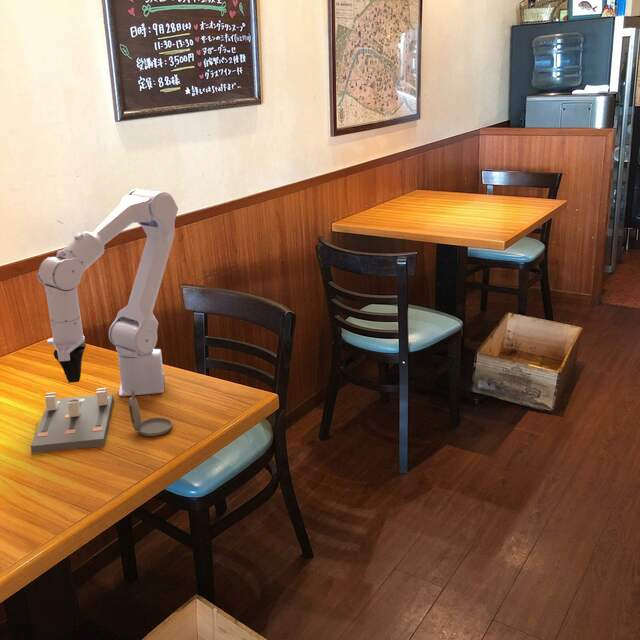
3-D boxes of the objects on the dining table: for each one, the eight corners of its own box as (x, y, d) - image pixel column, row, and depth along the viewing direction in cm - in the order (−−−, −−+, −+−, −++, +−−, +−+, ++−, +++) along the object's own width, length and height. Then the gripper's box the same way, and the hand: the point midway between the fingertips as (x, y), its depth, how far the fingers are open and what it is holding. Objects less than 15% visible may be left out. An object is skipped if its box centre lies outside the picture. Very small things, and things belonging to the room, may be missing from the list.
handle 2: (108, 400, 144) (106, 386, 143) (107, 404, 142) (105, 390, 141) (99, 401, 143) (97, 387, 142) (98, 405, 142) (96, 391, 141)
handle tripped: (80, 411, 139) (78, 397, 138) (79, 416, 137) (77, 401, 136) (71, 412, 139) (69, 398, 138) (69, 417, 137) (67, 402, 136)
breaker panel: (113, 400, 148) (112, 393, 148) (104, 445, 130) (103, 438, 129) (50, 405, 146) (49, 399, 145) (31, 453, 127) (30, 445, 127)
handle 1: (57, 405, 142) (55, 391, 141) (56, 409, 140) (54, 395, 139) (48, 406, 142) (46, 392, 141) (47, 410, 140) (44, 396, 139)
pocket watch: (179, 426, 136) (175, 380, 133) (149, 445, 130) (144, 397, 126) (148, 417, 140) (144, 372, 137) (118, 434, 134) (112, 388, 130)
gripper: (50, 307, 141) (59, 368, 146) (37, 331, 128) (47, 397, 133) (86, 305, 143) (94, 365, 147) (76, 328, 129) (85, 394, 134)
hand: (74, 380), depth 140 cm, fingers closed
